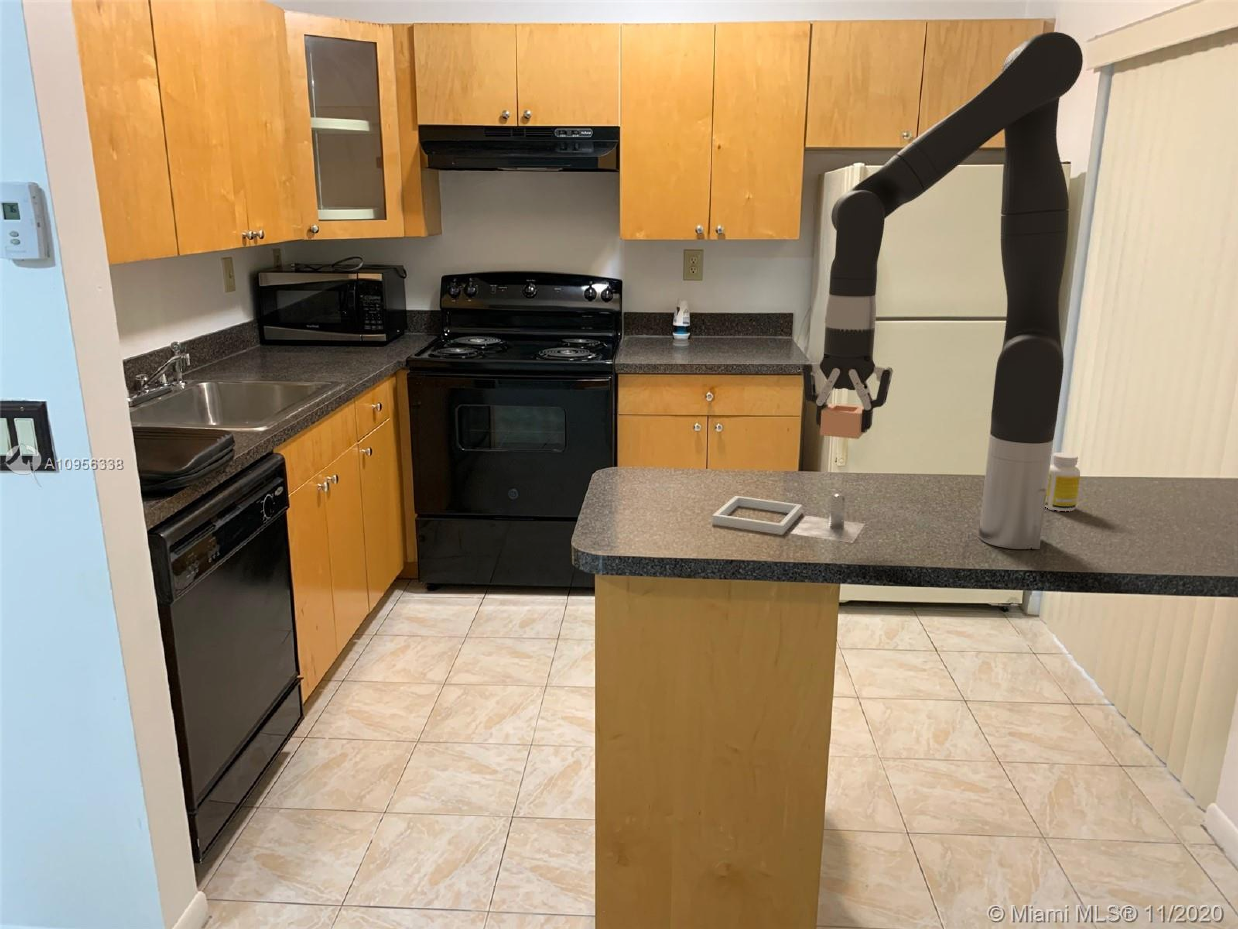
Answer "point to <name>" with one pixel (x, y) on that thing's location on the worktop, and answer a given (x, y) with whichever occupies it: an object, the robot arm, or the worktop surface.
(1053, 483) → the supplement bottle
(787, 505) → the tray
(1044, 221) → the robot arm
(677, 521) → the worktop surface
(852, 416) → the ring
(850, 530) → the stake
